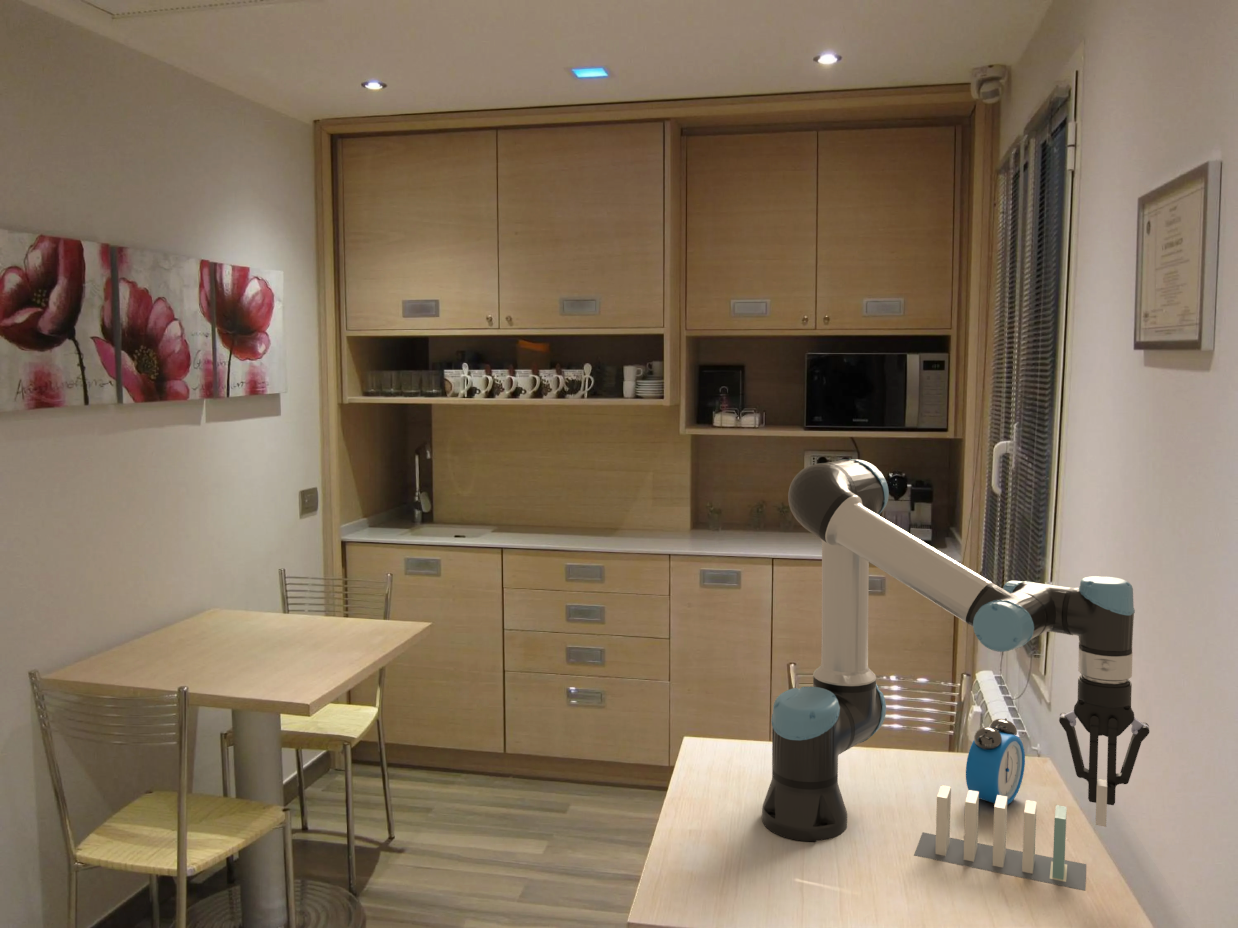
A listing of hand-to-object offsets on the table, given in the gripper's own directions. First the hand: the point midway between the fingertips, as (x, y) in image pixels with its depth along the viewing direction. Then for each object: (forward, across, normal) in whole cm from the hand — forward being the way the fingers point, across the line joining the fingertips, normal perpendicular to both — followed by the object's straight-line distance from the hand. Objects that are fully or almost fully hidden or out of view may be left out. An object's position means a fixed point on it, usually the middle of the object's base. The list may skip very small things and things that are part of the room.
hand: (1100, 822), depth 154 cm
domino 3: (+9, -15, 0) cm, 18 cm away
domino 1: (+9, -24, 0) cm, 26 cm away
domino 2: (+9, -20, 0) cm, 22 cm away
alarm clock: (+10, -18, +24) cm, 32 cm away
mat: (+10, -15, 0) cm, 18 cm away
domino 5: (+9, -6, 0) cm, 11 cm away
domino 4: (+9, -10, 0) cm, 14 cm away
